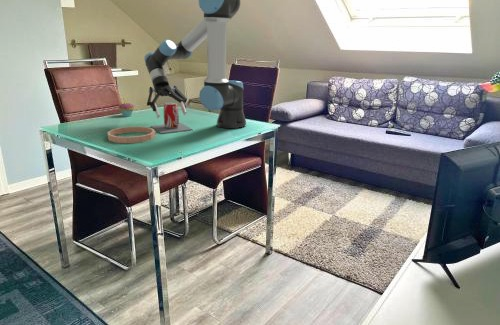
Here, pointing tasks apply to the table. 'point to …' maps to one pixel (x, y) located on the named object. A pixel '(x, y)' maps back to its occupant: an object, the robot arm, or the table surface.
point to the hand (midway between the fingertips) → (172, 115)
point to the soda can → (171, 115)
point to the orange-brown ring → (131, 139)
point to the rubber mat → (164, 130)
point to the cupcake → (126, 108)
